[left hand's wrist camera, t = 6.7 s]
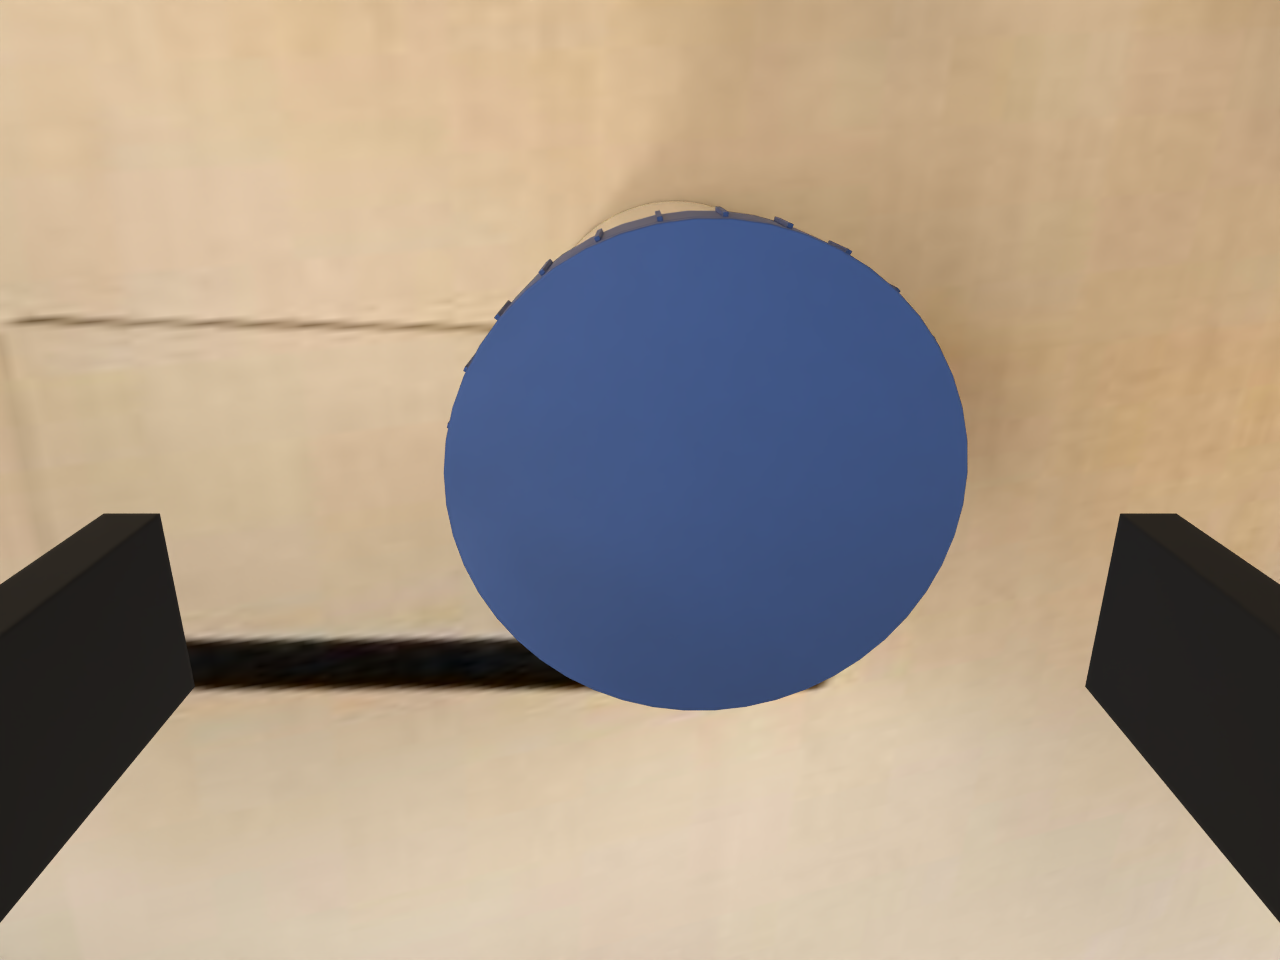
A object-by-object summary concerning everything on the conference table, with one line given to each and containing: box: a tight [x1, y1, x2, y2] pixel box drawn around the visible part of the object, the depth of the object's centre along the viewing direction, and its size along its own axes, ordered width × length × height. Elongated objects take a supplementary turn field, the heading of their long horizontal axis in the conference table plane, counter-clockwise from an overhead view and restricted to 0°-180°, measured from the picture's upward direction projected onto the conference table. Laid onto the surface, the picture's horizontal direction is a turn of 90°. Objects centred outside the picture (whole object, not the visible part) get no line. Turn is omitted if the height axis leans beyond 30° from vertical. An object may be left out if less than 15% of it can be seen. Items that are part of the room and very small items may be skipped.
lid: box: [444, 207, 967, 710], centre depth 19 cm, size 11×11×2 cm
